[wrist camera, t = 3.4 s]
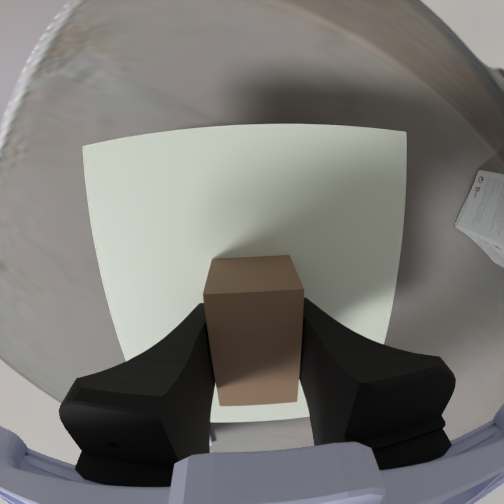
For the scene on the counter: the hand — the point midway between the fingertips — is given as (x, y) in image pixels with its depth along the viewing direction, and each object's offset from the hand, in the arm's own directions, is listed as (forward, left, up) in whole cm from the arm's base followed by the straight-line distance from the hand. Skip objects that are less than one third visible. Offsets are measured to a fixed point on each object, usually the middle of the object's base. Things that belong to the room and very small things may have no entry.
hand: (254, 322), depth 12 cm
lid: (0, 0, -1) cm, 1 cm away
